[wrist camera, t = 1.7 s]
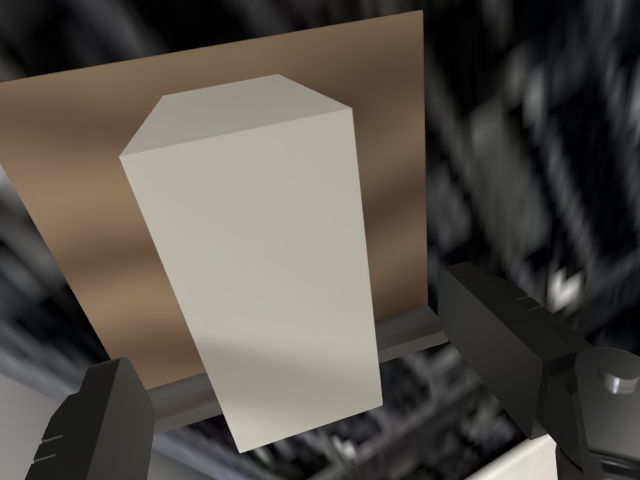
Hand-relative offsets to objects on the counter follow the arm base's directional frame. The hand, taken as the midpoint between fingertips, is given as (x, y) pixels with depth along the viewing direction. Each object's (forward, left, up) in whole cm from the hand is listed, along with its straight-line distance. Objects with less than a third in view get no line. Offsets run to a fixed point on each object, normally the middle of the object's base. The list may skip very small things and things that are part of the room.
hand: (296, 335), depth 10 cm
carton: (0, 0, -11) cm, 11 cm away
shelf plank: (+2, 0, -12) cm, 13 cm away
